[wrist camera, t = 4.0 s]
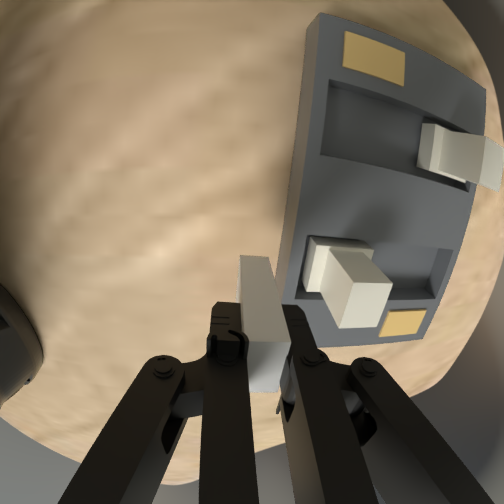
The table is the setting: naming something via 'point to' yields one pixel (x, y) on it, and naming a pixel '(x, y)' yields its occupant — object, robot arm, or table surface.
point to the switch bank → (375, 174)
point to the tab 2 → (461, 156)
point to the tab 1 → (346, 280)
